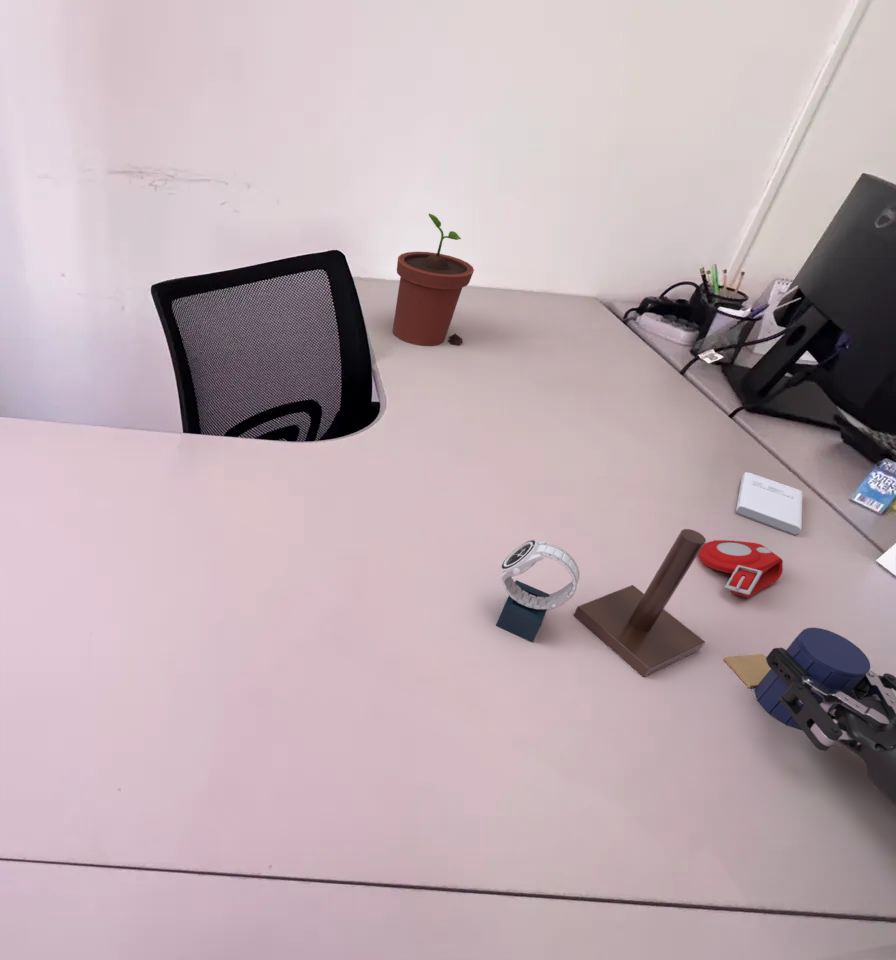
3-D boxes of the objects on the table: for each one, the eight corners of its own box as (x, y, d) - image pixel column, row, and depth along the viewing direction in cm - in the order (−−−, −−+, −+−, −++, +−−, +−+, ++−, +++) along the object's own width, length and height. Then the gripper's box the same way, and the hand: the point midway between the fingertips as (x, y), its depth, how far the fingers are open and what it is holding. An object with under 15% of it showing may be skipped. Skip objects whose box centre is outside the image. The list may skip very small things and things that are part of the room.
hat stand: (627, 593, 86) (681, 499, 77) (699, 650, 79) (767, 554, 70) (573, 614, 82) (622, 518, 73) (643, 677, 74) (707, 578, 66)
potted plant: (363, 325, 151) (385, 209, 137) (427, 310, 163) (453, 201, 148) (422, 356, 140) (453, 233, 126) (486, 337, 152) (521, 223, 137)
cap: (832, 726, 71) (886, 671, 66) (785, 732, 70) (835, 676, 65) (763, 655, 79) (807, 601, 74) (720, 659, 78) (760, 604, 72)
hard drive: (734, 513, 103) (740, 478, 111) (796, 536, 99) (798, 498, 108) (739, 505, 102) (745, 470, 110) (802, 528, 98) (804, 490, 107)
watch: (492, 591, 84) (520, 522, 77) (558, 620, 81) (592, 551, 74) (479, 618, 80) (507, 548, 73) (548, 650, 76) (583, 579, 70)
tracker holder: (683, 537, 95) (758, 528, 94) (681, 564, 96) (754, 556, 95) (737, 581, 83) (823, 572, 82) (733, 611, 85) (818, 603, 84)
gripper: (1052, 769, 57) (875, 621, 71) (917, 788, 55) (759, 630, 68) (988, 815, 62) (833, 668, 75) (861, 835, 59) (723, 678, 72)
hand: (798, 651), depth 71 cm, fingers closed on cap, 6 cm apart
